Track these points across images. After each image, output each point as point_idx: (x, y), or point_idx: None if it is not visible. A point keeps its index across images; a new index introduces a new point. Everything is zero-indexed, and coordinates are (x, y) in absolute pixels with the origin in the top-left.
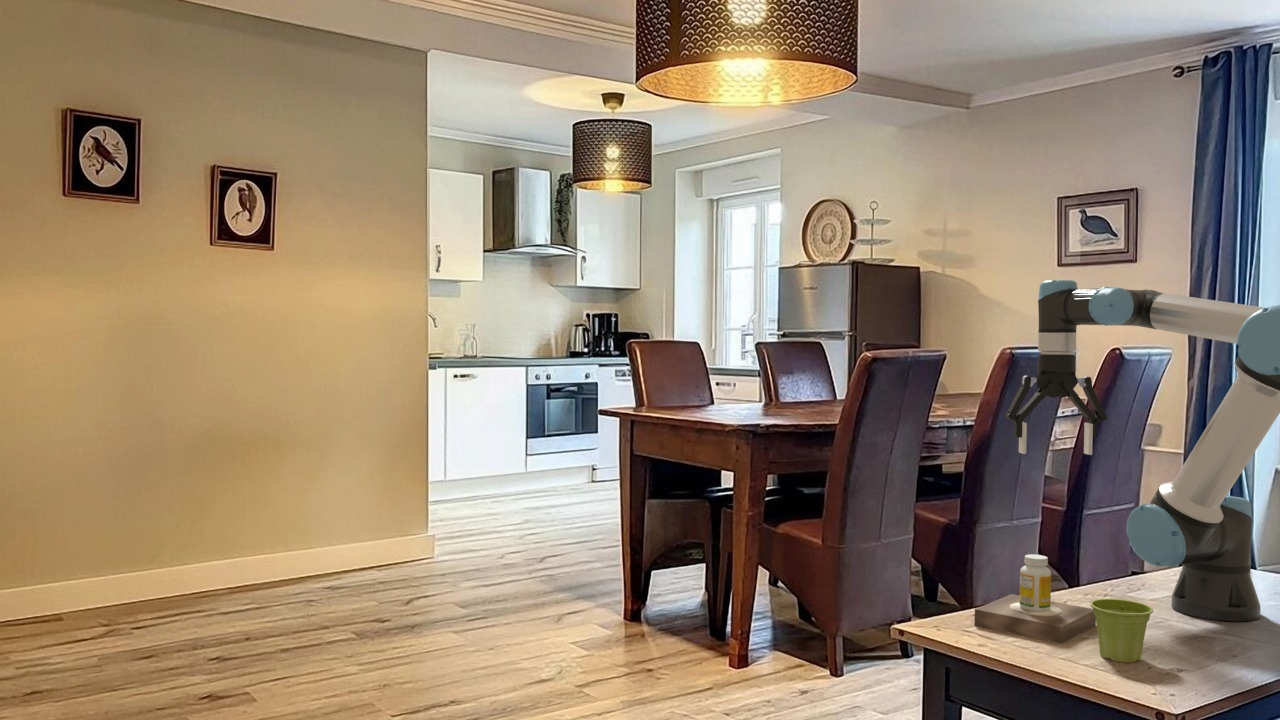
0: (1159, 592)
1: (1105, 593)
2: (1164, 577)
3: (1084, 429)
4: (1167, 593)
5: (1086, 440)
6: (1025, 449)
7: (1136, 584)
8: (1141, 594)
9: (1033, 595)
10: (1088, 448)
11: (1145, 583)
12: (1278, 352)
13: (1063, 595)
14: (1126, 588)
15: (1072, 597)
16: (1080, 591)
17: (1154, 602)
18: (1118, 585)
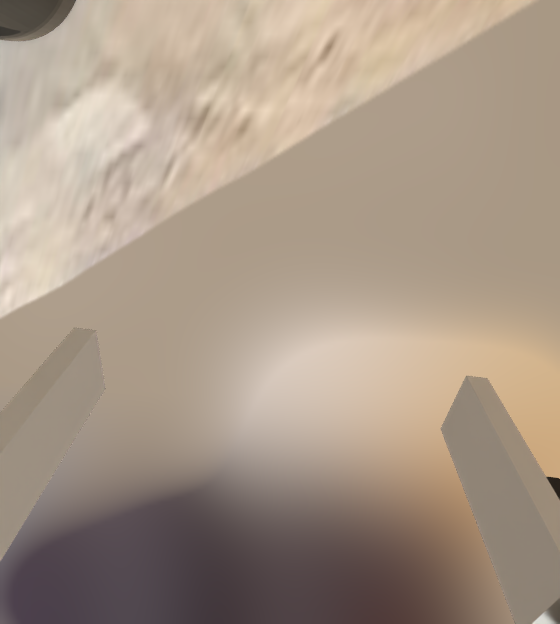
0: (71, 141)
1: (195, 135)
2: (27, 267)
3: (24, 518)
4: (56, 131)
5: (59, 422)
6: (480, 394)
7: (100, 214)
8: (117, 123)
9: None
10: (78, 357)
11: (79, 221)
12: None
13: (299, 118)
14: (132, 180)
15: (287, 97)
16: (243, 155)
17: (111, 38)
18: (140, 206)
